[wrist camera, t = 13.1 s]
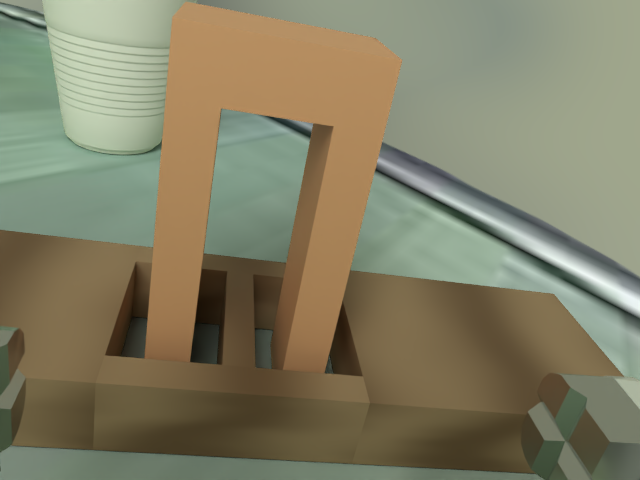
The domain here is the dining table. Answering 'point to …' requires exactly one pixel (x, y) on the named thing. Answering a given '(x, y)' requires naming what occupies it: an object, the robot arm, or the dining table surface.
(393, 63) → the clip
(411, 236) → the dining table surface
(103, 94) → the cup
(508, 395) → the rail
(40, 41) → the dining table surface
